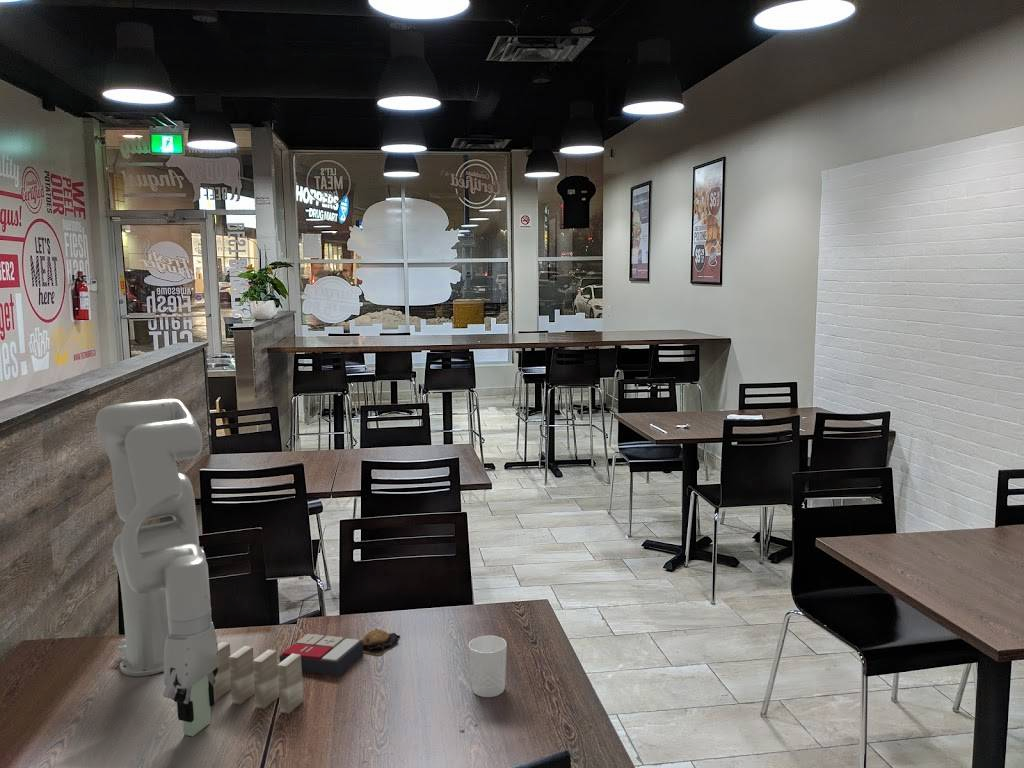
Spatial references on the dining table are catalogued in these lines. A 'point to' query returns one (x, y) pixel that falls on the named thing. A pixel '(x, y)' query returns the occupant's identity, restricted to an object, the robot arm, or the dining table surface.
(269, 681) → the domino
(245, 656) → the domino
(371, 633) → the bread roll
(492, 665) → the white cup
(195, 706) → the domino
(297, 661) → the domino
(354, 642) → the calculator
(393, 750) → the dining table surface
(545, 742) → the dining table surface
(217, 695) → the domino
